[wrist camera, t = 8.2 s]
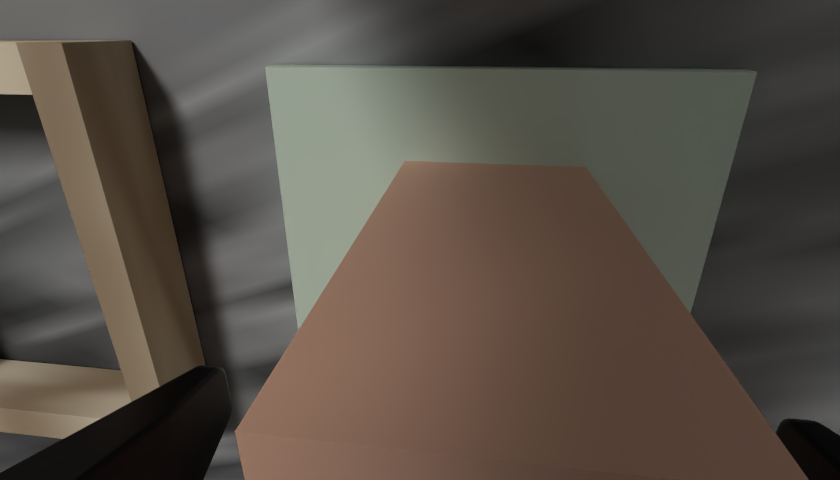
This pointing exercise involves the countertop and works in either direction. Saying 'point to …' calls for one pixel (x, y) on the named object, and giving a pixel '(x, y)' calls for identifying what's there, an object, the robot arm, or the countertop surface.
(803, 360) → the countertop surface
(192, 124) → the countertop surface
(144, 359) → the wooden frame
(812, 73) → the countertop surface
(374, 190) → the pad
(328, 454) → the part block
